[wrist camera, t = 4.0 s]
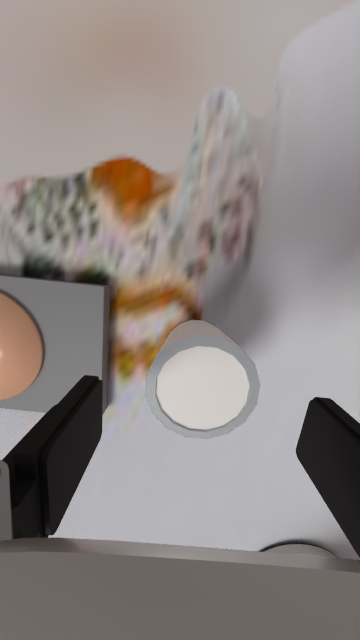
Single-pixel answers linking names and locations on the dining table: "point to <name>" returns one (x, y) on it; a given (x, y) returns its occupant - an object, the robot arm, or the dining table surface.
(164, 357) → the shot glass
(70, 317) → the board
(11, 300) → the coaster
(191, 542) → the dining table surface
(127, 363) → the dining table surface
